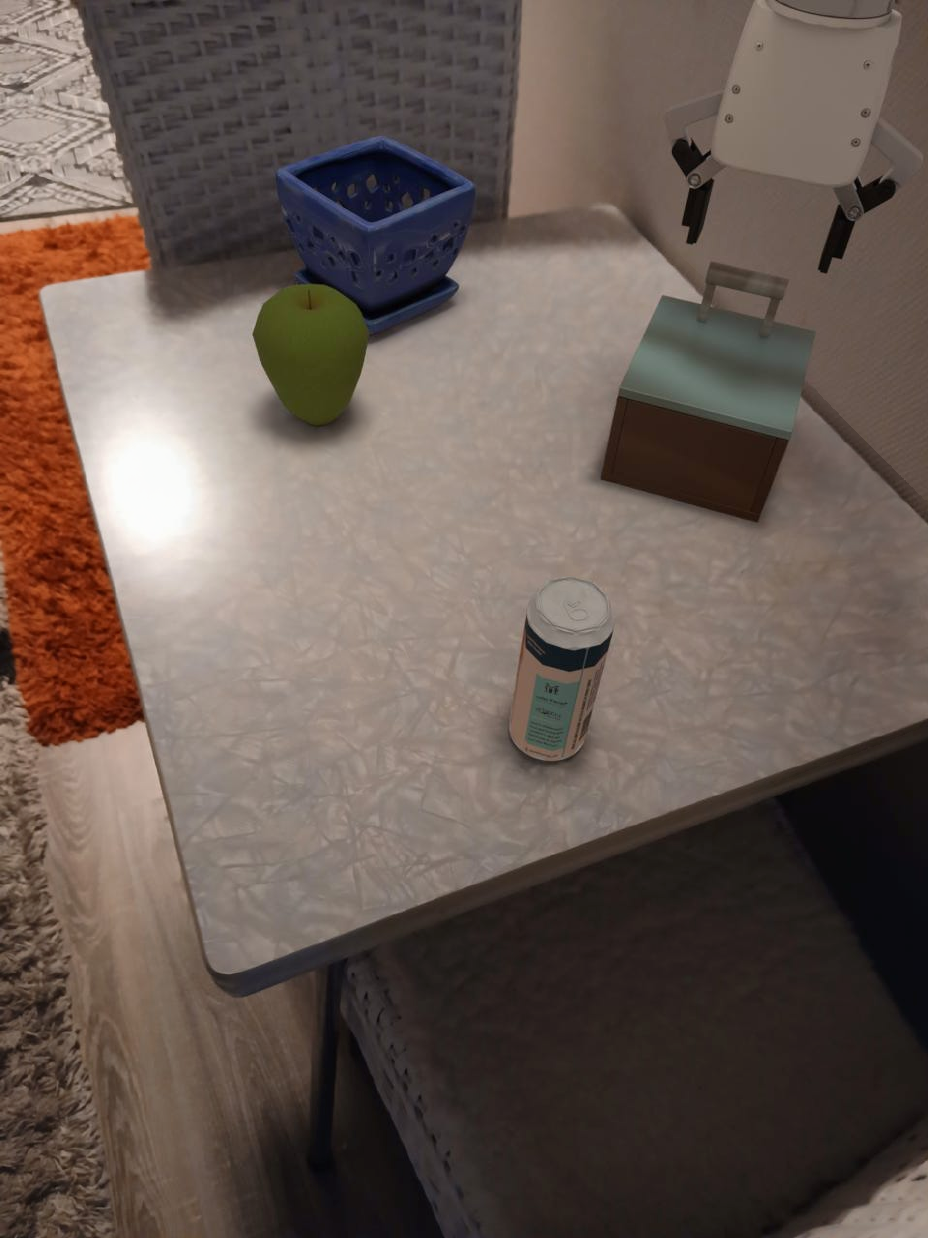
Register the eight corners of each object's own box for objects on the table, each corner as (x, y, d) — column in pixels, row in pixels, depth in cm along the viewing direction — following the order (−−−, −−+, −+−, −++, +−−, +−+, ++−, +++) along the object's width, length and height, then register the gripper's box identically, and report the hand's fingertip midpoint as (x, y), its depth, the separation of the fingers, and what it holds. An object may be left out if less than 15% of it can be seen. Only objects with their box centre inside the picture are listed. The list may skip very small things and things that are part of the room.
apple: (243, 427, 79) (225, 298, 71) (302, 376, 84) (292, 250, 76) (334, 463, 77) (326, 334, 68) (389, 408, 82) (388, 282, 73)
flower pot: (475, 305, 94) (484, 181, 85) (370, 355, 87) (368, 226, 78) (383, 251, 99) (382, 130, 91) (278, 294, 93) (267, 168, 84)
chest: (640, 387, 86) (658, 307, 80) (782, 423, 84) (811, 344, 78) (600, 478, 77) (617, 396, 72) (757, 522, 75) (788, 441, 69)
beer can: (567, 695, 63) (596, 563, 54) (596, 755, 60) (633, 626, 51) (497, 712, 61) (515, 579, 53) (523, 773, 58) (548, 644, 50)
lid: (660, 303, 81) (675, 238, 77) (812, 339, 78) (836, 274, 74) (617, 396, 71) (631, 328, 67) (788, 440, 69) (814, 373, 65)
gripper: (983, -12, 60) (881, 253, 73) (706, -54, 63) (655, 206, 76) (983, 23, 55) (873, 300, 68) (683, -25, 59) (632, 247, 71)
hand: (758, 250), depth 72 cm, fingers open, 9 cm apart
